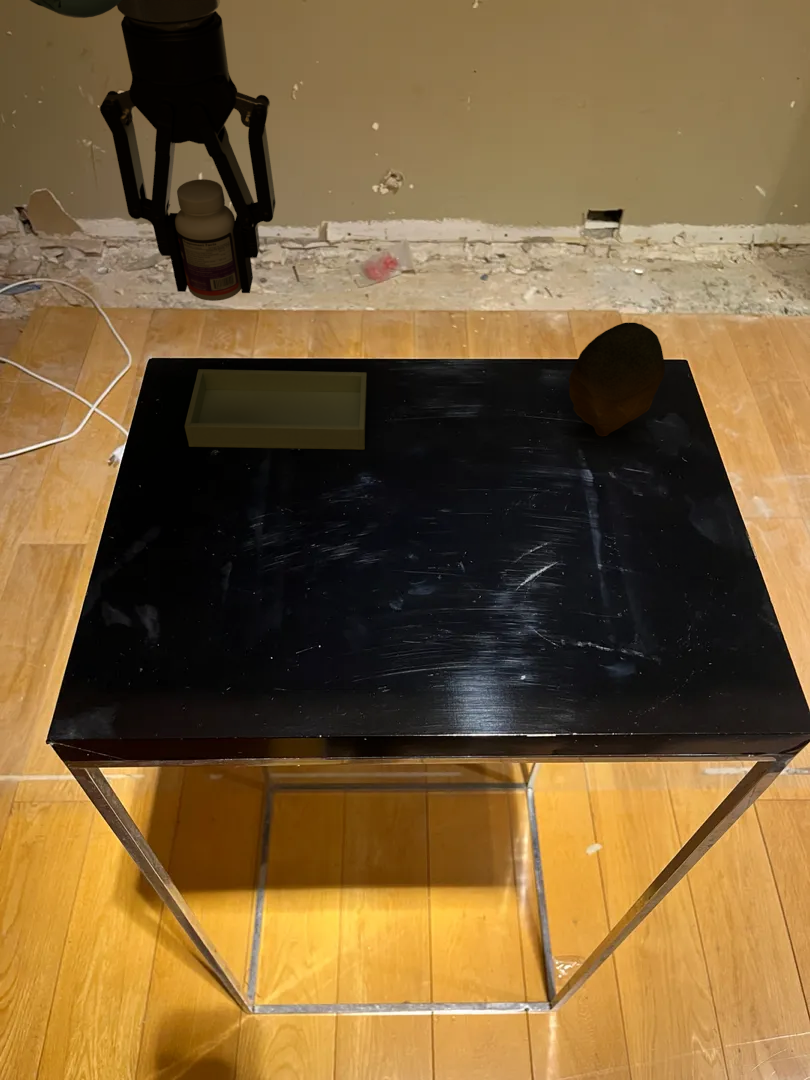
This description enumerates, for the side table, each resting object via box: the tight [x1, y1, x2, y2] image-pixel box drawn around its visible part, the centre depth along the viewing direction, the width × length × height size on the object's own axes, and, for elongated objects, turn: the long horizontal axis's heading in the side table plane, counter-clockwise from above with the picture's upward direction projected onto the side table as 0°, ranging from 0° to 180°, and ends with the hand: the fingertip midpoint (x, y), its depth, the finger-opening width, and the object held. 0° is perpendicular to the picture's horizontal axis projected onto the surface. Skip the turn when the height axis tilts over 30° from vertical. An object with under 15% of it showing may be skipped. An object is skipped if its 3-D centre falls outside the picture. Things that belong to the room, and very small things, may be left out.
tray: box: [184, 368, 368, 451], centre depth 93 cm, size 19×10×3 cm, turn 90°
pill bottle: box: [175, 178, 241, 302], centre depth 76 cm, size 5×5×10 cm
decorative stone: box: [568, 322, 666, 437], centre depth 88 cm, size 10×6×15 cm, turn 90°
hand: (215, 284), depth 80 cm, fingers closed on pill bottle, 5 cm apart
